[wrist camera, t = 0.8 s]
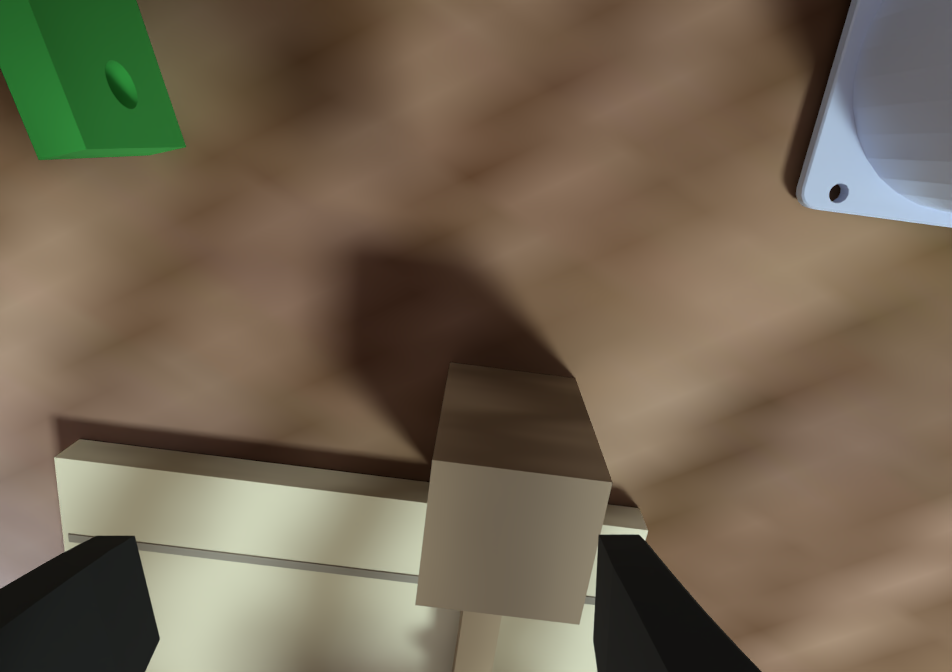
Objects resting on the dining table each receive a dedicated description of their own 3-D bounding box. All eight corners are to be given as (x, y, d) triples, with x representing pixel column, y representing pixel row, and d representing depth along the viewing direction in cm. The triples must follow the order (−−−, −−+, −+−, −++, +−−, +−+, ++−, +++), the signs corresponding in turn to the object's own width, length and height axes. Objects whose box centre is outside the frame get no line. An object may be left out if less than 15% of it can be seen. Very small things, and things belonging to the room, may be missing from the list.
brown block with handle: (575, 377, 19) (612, 482, 13) (518, 666, 22) (528, 844, 17) (450, 361, 19) (432, 460, 13) (414, 654, 22) (388, 829, 17)
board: (639, 508, 20) (648, 531, 19) (589, 704, 23) (594, 734, 22) (79, 439, 20) (53, 458, 18) (99, 647, 23) (78, 675, 21)
